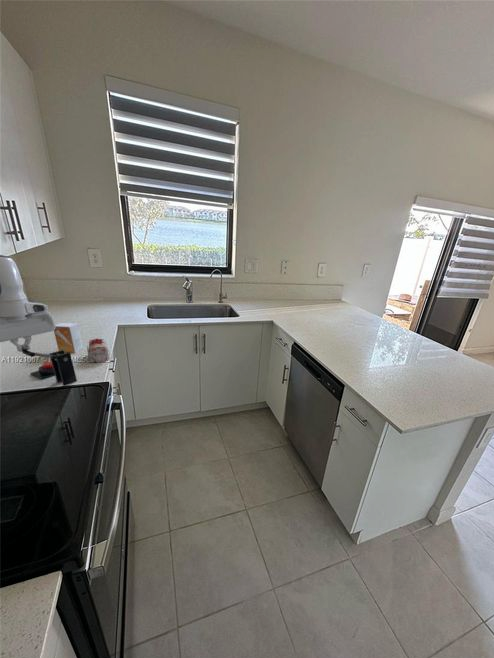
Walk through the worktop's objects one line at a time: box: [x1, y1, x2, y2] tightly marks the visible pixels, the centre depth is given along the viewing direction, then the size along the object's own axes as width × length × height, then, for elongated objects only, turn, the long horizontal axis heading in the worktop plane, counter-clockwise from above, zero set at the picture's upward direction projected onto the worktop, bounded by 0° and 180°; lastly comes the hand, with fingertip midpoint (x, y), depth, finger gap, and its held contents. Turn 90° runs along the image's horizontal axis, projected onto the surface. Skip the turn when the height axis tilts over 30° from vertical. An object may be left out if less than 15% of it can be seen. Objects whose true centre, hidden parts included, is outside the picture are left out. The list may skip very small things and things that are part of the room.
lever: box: [22, 350, 60, 361], centre depth 100 cm, size 12×5×2 cm, turn 149°
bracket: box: [49, 350, 78, 386], centre depth 106 cm, size 12×9×13 cm
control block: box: [30, 365, 55, 381], centre depth 114 cm, size 10×8×4 cm
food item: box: [86, 338, 110, 364], centre depth 129 cm, size 14×8×10 cm, turn 32°
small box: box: [53, 322, 84, 354], centre depth 138 cm, size 8×6×13 cm
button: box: [41, 361, 53, 369], centre depth 113 cm, size 4×4×2 cm
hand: (24, 350), depth 95 cm, fingers closed
